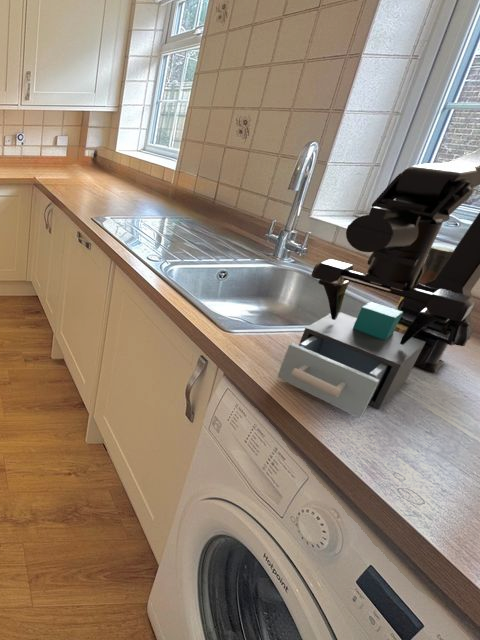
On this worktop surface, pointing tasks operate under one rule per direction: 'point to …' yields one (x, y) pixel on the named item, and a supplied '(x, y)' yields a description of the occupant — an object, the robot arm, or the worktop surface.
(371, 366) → the dispenser drawer
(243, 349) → the worktop surface
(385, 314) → the teal cube white top
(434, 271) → the sauce bottle
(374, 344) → the grey drawer box
